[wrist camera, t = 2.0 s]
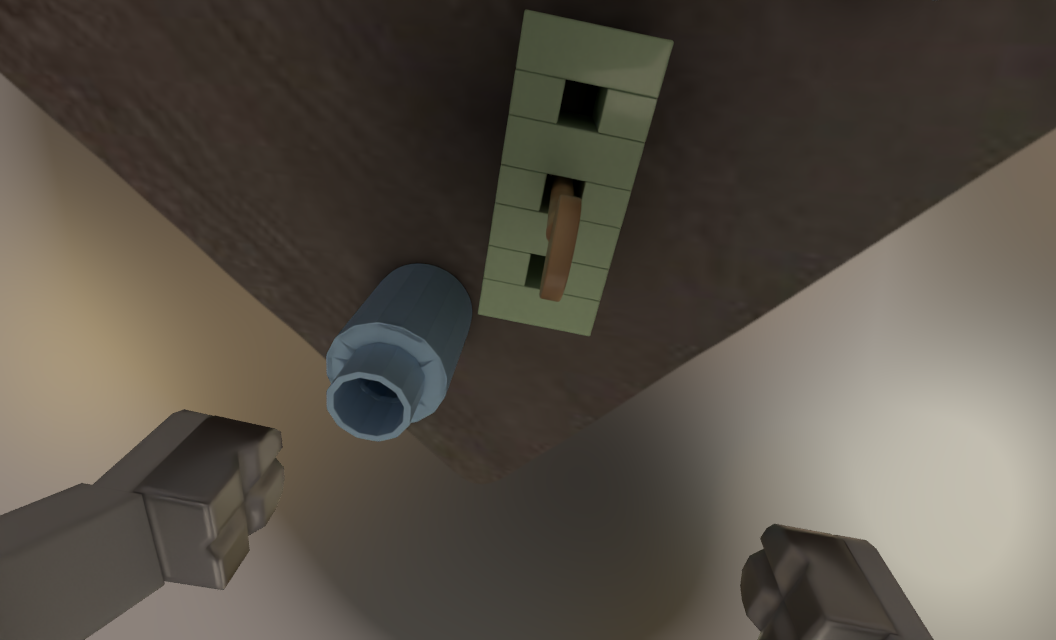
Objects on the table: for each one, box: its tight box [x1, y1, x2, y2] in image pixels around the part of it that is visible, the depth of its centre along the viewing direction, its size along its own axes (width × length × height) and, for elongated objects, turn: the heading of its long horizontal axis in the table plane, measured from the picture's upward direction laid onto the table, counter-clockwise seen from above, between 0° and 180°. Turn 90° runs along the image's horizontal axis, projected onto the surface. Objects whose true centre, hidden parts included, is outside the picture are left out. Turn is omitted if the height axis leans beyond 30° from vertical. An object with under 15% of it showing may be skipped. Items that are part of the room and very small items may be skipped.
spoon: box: [539, 175, 582, 302], centre depth 25 cm, size 4×1×17 cm, turn 170°
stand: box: [478, 10, 674, 336], centre depth 29 cm, size 16×7×7 cm, turn 170°
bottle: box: [326, 264, 472, 441], centre depth 32 cm, size 7×7×12 cm
